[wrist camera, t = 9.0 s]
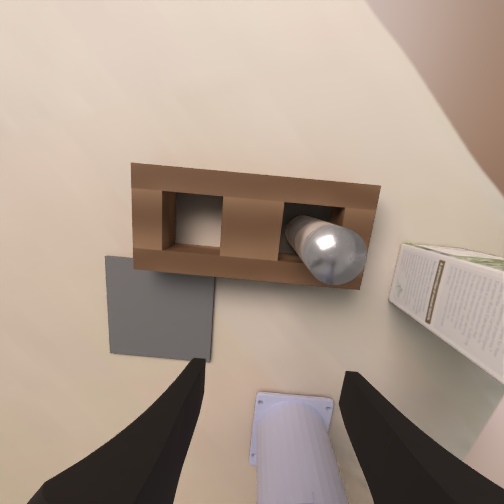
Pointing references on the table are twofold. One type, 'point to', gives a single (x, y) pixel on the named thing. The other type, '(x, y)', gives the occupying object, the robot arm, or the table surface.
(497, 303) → the syrup box
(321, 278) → the peg
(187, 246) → the walnut hole block
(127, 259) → the rubber mat
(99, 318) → the table surface
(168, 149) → the table surface
